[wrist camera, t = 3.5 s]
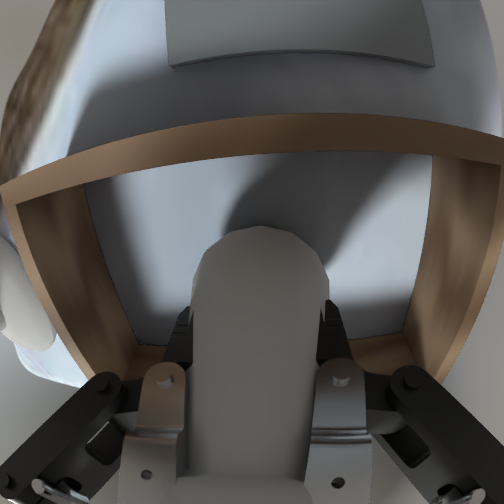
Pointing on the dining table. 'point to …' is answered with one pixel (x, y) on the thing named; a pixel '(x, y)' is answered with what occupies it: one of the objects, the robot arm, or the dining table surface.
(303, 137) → the frame
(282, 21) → the grey mat
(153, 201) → the dining table surface
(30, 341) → the candlestick
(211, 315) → the salt shaker
